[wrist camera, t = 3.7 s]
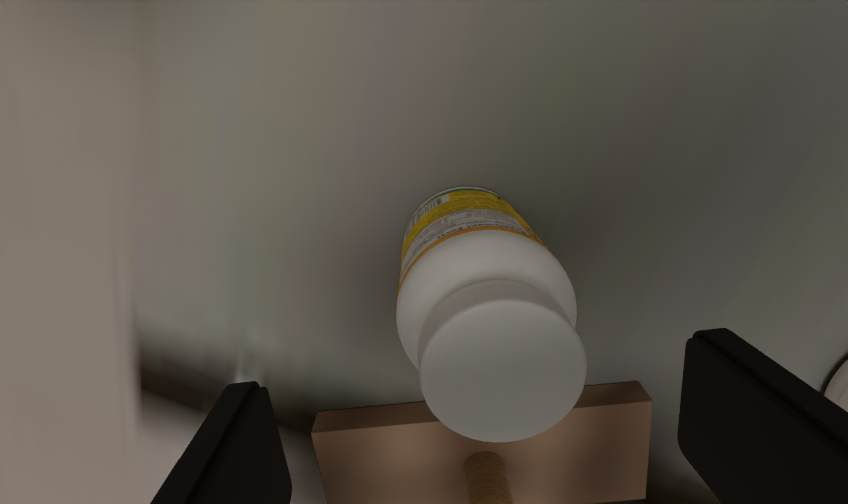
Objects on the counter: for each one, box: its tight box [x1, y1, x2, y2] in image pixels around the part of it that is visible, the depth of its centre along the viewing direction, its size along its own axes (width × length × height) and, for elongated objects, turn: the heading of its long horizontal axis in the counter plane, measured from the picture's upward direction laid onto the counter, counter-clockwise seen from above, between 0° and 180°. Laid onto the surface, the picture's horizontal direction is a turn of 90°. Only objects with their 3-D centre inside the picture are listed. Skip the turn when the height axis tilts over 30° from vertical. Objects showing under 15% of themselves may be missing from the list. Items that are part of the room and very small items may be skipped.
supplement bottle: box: [396, 187, 587, 442], centre depth 15 cm, size 5×5×10 cm
